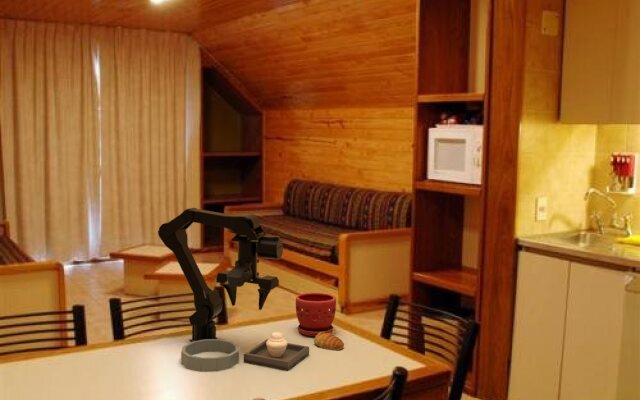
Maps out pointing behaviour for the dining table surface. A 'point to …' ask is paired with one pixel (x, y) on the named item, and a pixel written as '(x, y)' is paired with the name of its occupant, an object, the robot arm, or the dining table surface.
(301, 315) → the plant pot
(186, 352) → the grey polygonal ring
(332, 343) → the pastry
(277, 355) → the muffin
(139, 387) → the dining table surface
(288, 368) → the tray
